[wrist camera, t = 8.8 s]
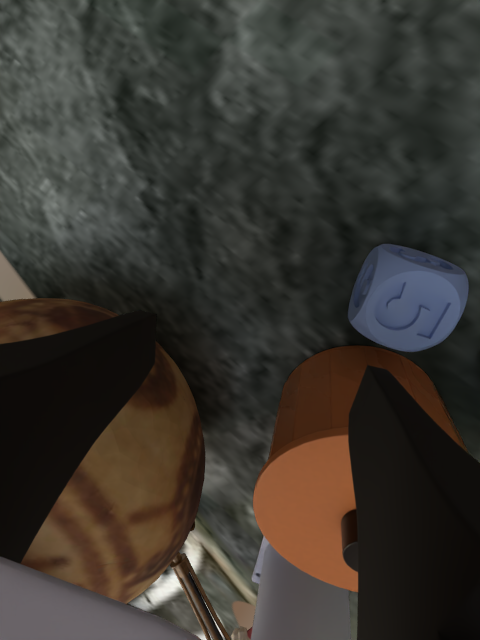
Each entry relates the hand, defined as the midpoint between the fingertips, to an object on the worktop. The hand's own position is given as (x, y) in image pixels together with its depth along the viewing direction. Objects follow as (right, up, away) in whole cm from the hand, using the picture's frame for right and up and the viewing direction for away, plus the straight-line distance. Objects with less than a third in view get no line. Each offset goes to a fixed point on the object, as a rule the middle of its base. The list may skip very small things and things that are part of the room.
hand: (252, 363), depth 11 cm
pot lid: (+6, -8, +4) cm, 11 cm away
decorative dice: (+8, +4, +7) cm, 11 cm away
